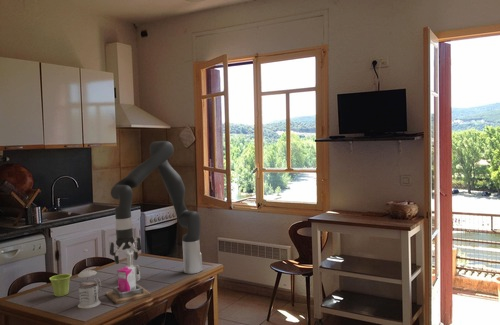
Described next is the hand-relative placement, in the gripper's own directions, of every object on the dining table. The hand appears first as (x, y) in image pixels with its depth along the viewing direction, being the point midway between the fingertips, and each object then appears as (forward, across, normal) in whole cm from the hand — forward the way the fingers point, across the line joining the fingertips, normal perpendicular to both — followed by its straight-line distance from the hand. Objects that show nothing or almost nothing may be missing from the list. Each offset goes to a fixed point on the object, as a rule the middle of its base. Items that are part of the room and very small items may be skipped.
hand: (126, 261), depth 199 cm
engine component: (+16, -9, -23) cm, 29 cm away
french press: (+16, +17, 0) cm, 23 cm away
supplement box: (+15, 0, 0) cm, 15 cm away
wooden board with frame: (+16, 0, 0) cm, 16 cm away
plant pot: (+16, +25, -23) cm, 38 cm away
